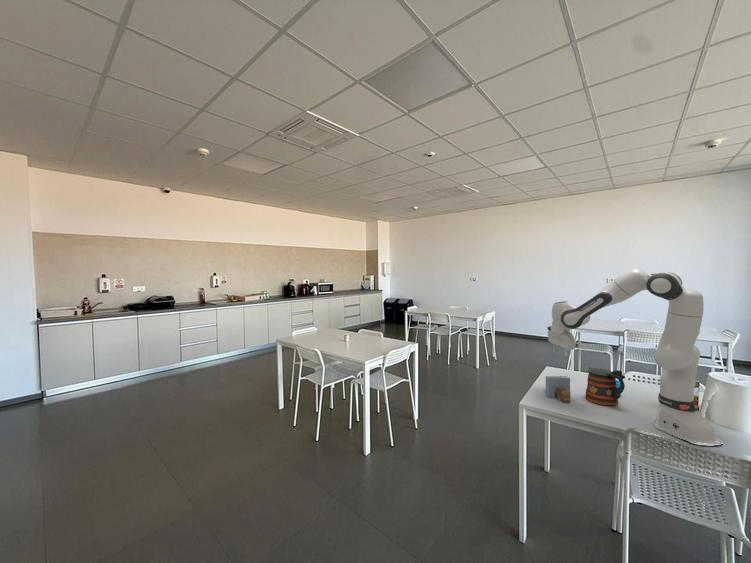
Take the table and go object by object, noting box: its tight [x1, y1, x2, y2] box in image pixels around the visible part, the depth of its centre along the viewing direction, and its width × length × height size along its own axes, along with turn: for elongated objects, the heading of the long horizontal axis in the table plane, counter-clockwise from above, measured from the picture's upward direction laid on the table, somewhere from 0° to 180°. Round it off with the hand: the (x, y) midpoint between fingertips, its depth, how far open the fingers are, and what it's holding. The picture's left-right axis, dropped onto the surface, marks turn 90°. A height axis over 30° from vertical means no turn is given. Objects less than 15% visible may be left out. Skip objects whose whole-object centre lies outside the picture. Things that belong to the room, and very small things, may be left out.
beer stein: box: [585, 367, 626, 407], centre depth 167 cm, size 19×15×20 cm
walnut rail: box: [555, 387, 571, 404], centre depth 177 cm, size 18×4×6 cm, turn 179°
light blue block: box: [545, 375, 571, 398], centre depth 176 cm, size 12×4×11 cm, turn 89°
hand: (561, 353), depth 176 cm, fingers open, 8 cm apart
